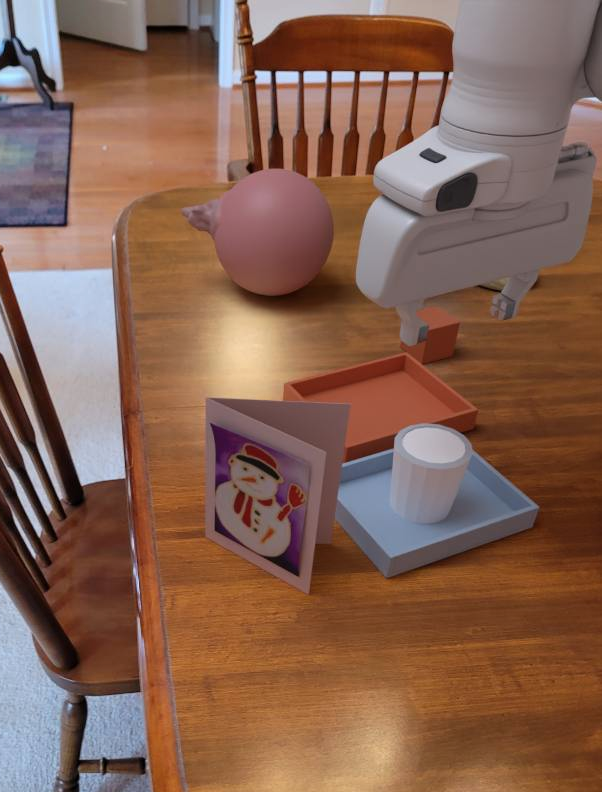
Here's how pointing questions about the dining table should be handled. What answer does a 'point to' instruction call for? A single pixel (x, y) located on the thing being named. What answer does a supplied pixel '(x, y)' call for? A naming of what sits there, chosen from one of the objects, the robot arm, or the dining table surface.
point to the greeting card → (273, 480)
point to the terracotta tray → (385, 401)
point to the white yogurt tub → (427, 471)
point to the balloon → (269, 231)
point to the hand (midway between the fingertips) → (458, 329)
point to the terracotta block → (435, 336)
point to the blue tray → (425, 543)
